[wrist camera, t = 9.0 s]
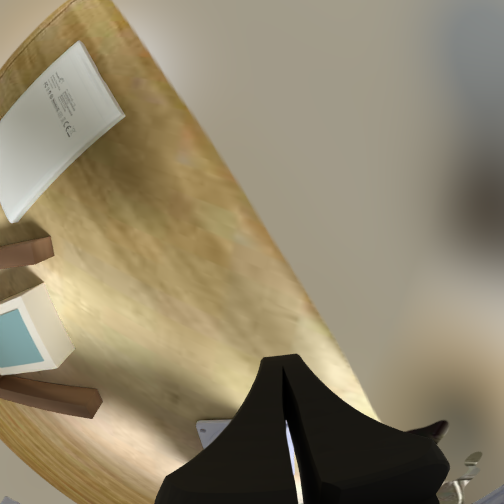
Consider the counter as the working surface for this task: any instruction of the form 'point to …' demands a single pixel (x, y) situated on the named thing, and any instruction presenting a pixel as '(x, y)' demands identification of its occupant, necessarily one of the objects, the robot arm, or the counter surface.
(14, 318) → the card box
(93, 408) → the frame
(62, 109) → the external hard drive
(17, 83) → the counter surface
